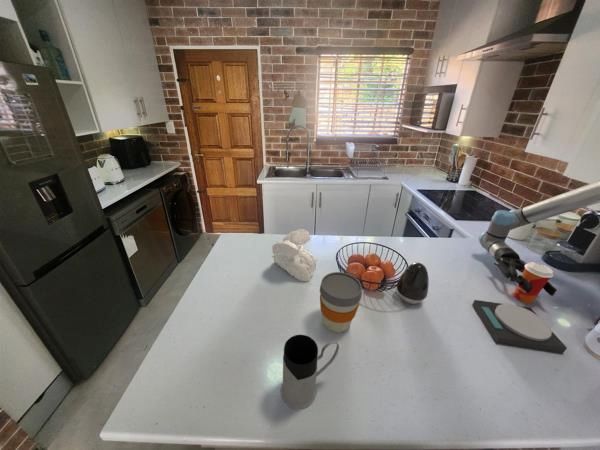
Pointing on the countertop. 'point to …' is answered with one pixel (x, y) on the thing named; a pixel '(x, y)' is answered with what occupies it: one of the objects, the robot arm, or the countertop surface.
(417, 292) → the dark egg shaped ornament
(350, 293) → the reusable coffee cup
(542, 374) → the countertop surface
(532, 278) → the paper cup
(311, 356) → the glass holder
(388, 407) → the countertop surface
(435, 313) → the countertop surface
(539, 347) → the scale
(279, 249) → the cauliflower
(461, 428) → the countertop surface
